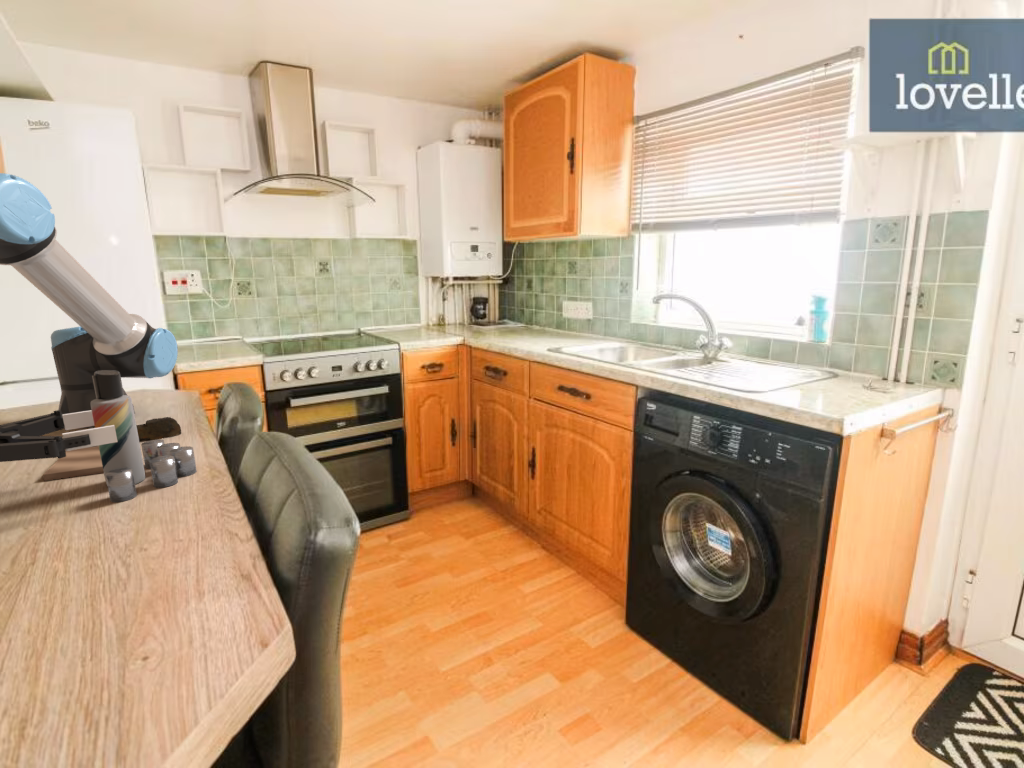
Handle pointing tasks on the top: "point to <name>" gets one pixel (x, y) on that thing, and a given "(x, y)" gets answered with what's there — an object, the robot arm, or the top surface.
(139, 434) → the hand tool
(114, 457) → the lotion bottle
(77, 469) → the brown wooden flat board
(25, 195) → the robot arm
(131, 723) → the top surface
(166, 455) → the steel spacers
